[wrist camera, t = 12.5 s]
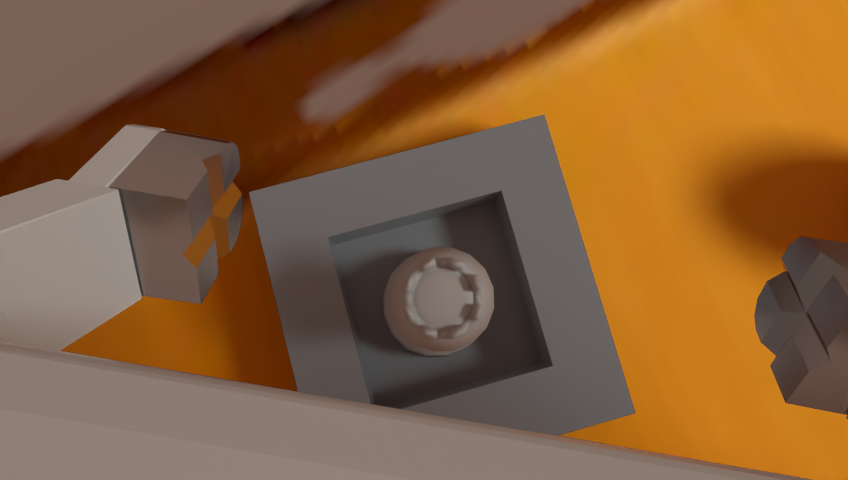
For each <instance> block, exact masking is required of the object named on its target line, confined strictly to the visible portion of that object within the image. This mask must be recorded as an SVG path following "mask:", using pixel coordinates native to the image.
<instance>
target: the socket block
mask: <svg viewBox="0 0 848 480" xmlns="http://www.w3.org/2000/svg"><path fill="white" fill-rule="evenodd" d="M249 195H250V199H251V203H252V207H253V211H254V215H255V219H256V223H257V227H258V232H259V236H260V240H261V244H262V248H263V252H264V256H265V260H266V264H267V268H268V272H269V276H270V280H271V284H272V288H273V292H274V296H275V300H276V304H277V308H278V313H279V317H280V321H281V325H282V329H283V333H284V337H285V341H286V345H287V349H288V353H289V357H290V361H291V365H292V369H293V373H294V377H295V381H296V385H297V390H298V392H303V393H309V394H315V395H321V396H327V397H332V398H338V399H344V400H350V401H356V402H362V403H368V404H373V405H379V406H385V407H391V408H397V409H403V410H409V411H415V412H420V413H426V414H432V415H438V416H444V417H450V418H456V419H462V420H468V421H473V422H479V423H485V424H491V425H497V426H503V427H509V428H515V429H521V430H526V431H532V432H538V433H544V434H550V435H556V436H558V435H562V434H565V433H568V432H572V431H575V430H579V429H582V428H586V427H589V426H593V425H596V424H599V423H603V422H606V421H610V420H613V419H617V418H620V417H624V416H627V415H630V414H634V413H635V410H634V407H633V403H632V400H631V397H630V393H629V390H628V387H627V384H626V380H625V377H624V374H623V371H622V367H621V364H620V361H619V357H618V354H617V351H616V348H615V344H614V341H613V338H612V335H611V331H610V328H609V325H608V322H607V318H606V315H605V312H604V308H603V305H602V302H601V299H600V295H599V292H598V289H597V286H596V282H595V279H594V276H593V272H592V269H591V266H590V263H589V259H588V256H587V253H586V250H585V246H584V243H583V240H582V236H581V233H580V230H579V227H578V223H577V220H576V217H575V214H574V210H573V207H572V204H571V200H570V197H569V194H568V191H567V187H566V184H565V181H564V178H563V174H562V171H561V168H560V164H559V161H558V158H557V155H556V151H555V148H554V145H553V142H552V138H551V135H550V132H549V129H548V125H547V122H546V119H545V115H541V116H537V117H533V118H529V119H526V120H522V121H518V122H514V123H510V124H506V125H503V126H499V127H495V128H491V129H487V130H484V131H480V132H476V133H472V134H468V135H465V136H461V137H457V138H453V139H449V140H446V141H442V142H438V143H434V144H430V145H427V146H423V147H419V148H415V149H411V150H408V151H404V152H400V153H396V154H392V155H389V156H385V157H381V158H377V159H373V160H369V161H366V162H362V163H358V164H354V165H350V166H347V167H343V168H339V169H335V170H331V171H328V172H324V173H320V174H316V175H312V176H309V177H305V178H301V179H297V180H293V181H290V182H286V183H282V184H278V185H274V186H271V187H267V188H263V189H259V190H255V191H252V192H249ZM431 247H452V248H455V249H457V250H460V251H462V252H465V253H468V254H470V255H471V256H472V257H473V258H474V259H475V260H477V261H478V262H479V263H480V264H481V265H482V266H483V267H484V268H485V270H486V272H487V274H488V276H489V278H490V281H491V283H492V285H493V287H494V310H493V313H492V315H491V318H490V321H489V323H488V326H487V328H486V329H485V330H484V331H483V332H482V333H481V334H480V335H479V336H478V338H477V339H476V340H475V341H474V342H473V343H471V344H470V346H469V347H468V348H466V349H464V350H462V351H459V352H457V353H455V354H453V355H450V356H448V357H424V356H421V355H419V354H416V353H414V352H411V351H409V350H406V349H405V348H404V347H403V346H402V345H401V344H400V343H399V342H398V341H397V340H396V339H395V338H394V337H393V336H392V335H391V334H390V332H389V329H388V327H387V325H386V322H385V320H384V318H383V315H382V293H383V290H384V288H385V285H386V283H387V280H388V278H389V275H390V273H391V272H392V271H393V270H394V269H395V268H396V267H397V266H398V265H399V264H400V263H401V262H402V261H403V260H404V259H405V258H407V257H410V256H412V255H414V254H417V253H419V252H421V251H424V250H426V249H429V248H431Z"/></svg>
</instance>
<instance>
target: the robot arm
mask: <svg viewBox="0 0 848 480" xmlns="http://www.w3.org/2000/svg"><path fill="white" fill-rule="evenodd" d="M239 170H240V162H239V153H238V148H237V147H236V145H235V144H234V142H230V141H225V140H220V139H214V138H209V137H203V136H198V135H192V134H187V133H182V132H176V131H171V130H164V129H161V128H155V127H148V126H141V125H135V124H134V125H126V126H124V127H123V128H122V129H121V130H120V131H119V132H118V133H117V134H116V135H115V136H114V137H113V138H112V139H111V140H110V141H109V142H108V143H107V144H106V145H105V146H104V147H103V148H102V149H101V150H99V151H98V152H97V153H96V154H95V155H94V156H93V157H92V158H91V159H90V160H89V161H88V162H87V163H86V164H85V165H84V166H83V167H82V168H81V169H80V170H79V171H78V172H77V173H76V174H75V175H74V176H73V177H71V178H70V179H69V180H68V181H66V180H60V179H56V180H52V181H49V182H46V183H43V184H40V185H37V186H34V187H31V188H28V189H25V190H21V191H18V192H15V193H12V194H9V195H6V196H3V197H0V480H812V479H806V478H800V477H794V476H789V475H783V474H777V473H771V472H766V471H760V470H754V469H748V468H742V467H737V466H731V465H725V464H719V463H713V462H708V461H702V460H696V459H690V458H685V457H679V456H673V455H667V454H661V453H656V452H650V451H644V450H638V449H632V448H626V447H621V446H615V445H609V444H603V443H597V442H591V441H585V440H579V439H573V438H568V437H562V436H556V435H550V434H544V433H538V432H532V431H526V430H521V429H515V428H509V427H503V426H497V425H491V424H485V423H479V422H473V421H468V420H462V419H456V418H450V417H444V416H438V415H432V414H426V413H420V412H415V411H409V410H403V409H397V408H391V407H385V406H379V405H373V404H368V403H362V402H356V401H350V400H344V399H338V398H332V397H327V396H321V395H315V394H309V393H303V392H297V391H292V390H286V389H280V388H274V387H268V386H262V385H256V384H251V383H245V382H239V381H233V380H227V379H221V378H215V377H210V376H204V375H198V374H192V373H186V372H180V371H175V370H169V369H163V368H157V367H151V366H145V365H139V364H134V363H128V362H122V361H116V360H110V359H104V358H98V357H93V356H87V355H81V354H75V353H69V352H63V351H60V350H62V349H63V348H65V347H67V346H68V345H70V344H71V343H73V342H74V341H76V340H78V339H79V338H81V337H82V336H84V335H86V334H87V333H89V332H90V331H92V330H93V329H95V328H97V327H98V326H100V325H101V324H103V323H104V322H106V321H108V320H109V319H111V318H112V317H114V316H115V315H117V314H119V313H120V312H122V311H123V310H125V309H126V308H128V307H130V306H131V305H133V304H134V303H136V302H137V301H139V300H141V299H142V296H148V297H155V298H162V299H169V300H176V301H183V302H190V303H197V304H202V302H203V300H204V298H205V297H206V295H207V293H208V291H209V290H210V288H211V286H212V284H213V283H214V281H215V279H216V277H217V276H218V274H219V269H218V259H220V258H222V257H224V256H226V255H228V254H230V252H231V251H232V249H233V247H234V245H235V243H236V241H237V238H238V234H239V231H240V227H241V224H242V213H243V201H242V193H241V192H240V191H239V189H238V188H237V187H236V186H235V184H234V183H233V182H232V181H233V179H234V178H235V176H236V175H237V173H238V171H239ZM782 262H783V266H784V269H785V271H784V272H783V273H781V274H779V275H777V276H775V277H774V278H772V279H770V280H768V281H767V282H766V284H765V286H764V288H763V290H762V291H761V293H760V295H759V297H758V300H757V305H756V310H755V325H756V331H757V333H758V336H759V339H760V341H761V343H762V344H763V345H765V346H766V347H767V348H768V349H769V350H770V351H771V352H772V353H774V354H775V355H776V357H775V359H774V361H773V362H772V364H771V369H772V371H773V373H774V376H775V378H776V381H777V383H778V386H779V388H780V390H781V393H782V395H783V398H784V400H785V403H789V404H794V405H799V406H804V407H809V408H814V409H820V410H825V411H830V412H835V413H840V414H845V415H847V417H846V418H847V419H848V243H844V242H836V241H829V240H822V239H815V238H808V237H801V236H800V237H799V238H797V239H796V240H795V241H794V242H793V243H791V244H790V245H789V247H788V249H787V250H786V252H785V253H784V255H783V256H782Z"/></svg>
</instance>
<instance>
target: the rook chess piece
mask: <svg viewBox="0 0 848 480" xmlns="http://www.w3.org/2000/svg"><path fill="white" fill-rule="evenodd" d="M493 310H494V287H493V285H492V283H491V281H490V278H489V276H488V274H487V272H486V270H485V268H484V267H483V266H482V265H481V264H480V263H479V262H478V261H477V260H475V259H474V258H473V257H472V256H471V255H470V254H468V253H465V252H462V251H460V250H457V249H455V248H452V247H431V248H429V249H426V250H424V251H421V252H419V253H417V254H414V255H412V256H410V257H407V258H405V259H404V260H403V261H402V262H401V263H400V264H399V265H398V266H397V267H396V268H395V269H394V270H393V271H392V272H391V273H390V275H389V278H388V280H387V283H386V285H385V288H384V290H383V293H382V315H383V318H384V320H385V322H386V325H387V327H388V329H389V332H390V334H391V335H392V336H393V337H394V338H395V339H396V340H397V341H398V342H399V343H400V344H401V345H402V346H403V347H404V348H405V349H406V350H409V351H411V352H414V353H416V354H419V355H421V356H424V357H448V356H450V355H453V354H455V353H457V352H459V351H462V350H464V349H466V348H468V347H469V346H470V344H471V343H473V342H474V341H475V340H476V339H477V338H478V336H479V335H480V334H481V333H482V332H483V331H484V330H485V329H486V328H487V326H488V323H489V321H490V318H491V315H492V313H493Z"/></svg>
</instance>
